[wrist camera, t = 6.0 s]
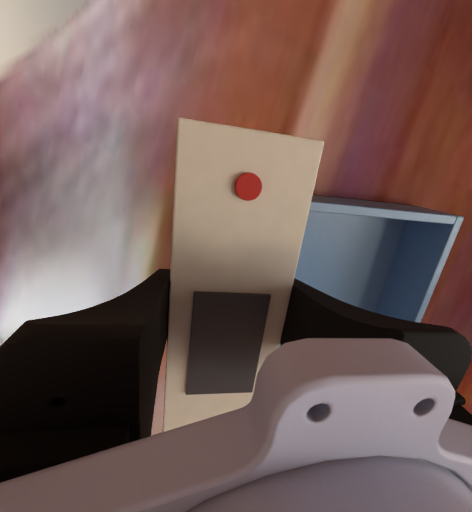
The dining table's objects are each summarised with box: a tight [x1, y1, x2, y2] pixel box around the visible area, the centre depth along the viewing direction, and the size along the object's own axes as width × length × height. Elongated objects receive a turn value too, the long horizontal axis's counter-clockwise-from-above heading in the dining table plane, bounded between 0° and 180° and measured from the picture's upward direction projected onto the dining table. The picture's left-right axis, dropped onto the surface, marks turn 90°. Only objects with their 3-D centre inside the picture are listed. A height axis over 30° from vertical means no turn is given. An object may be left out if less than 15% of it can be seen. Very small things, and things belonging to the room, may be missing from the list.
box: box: [279, 195, 464, 347], centre depth 21 cm, size 13×17×4 cm
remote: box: [163, 117, 324, 432], centre depth 12 cm, size 5×14×3 cm, turn 172°
